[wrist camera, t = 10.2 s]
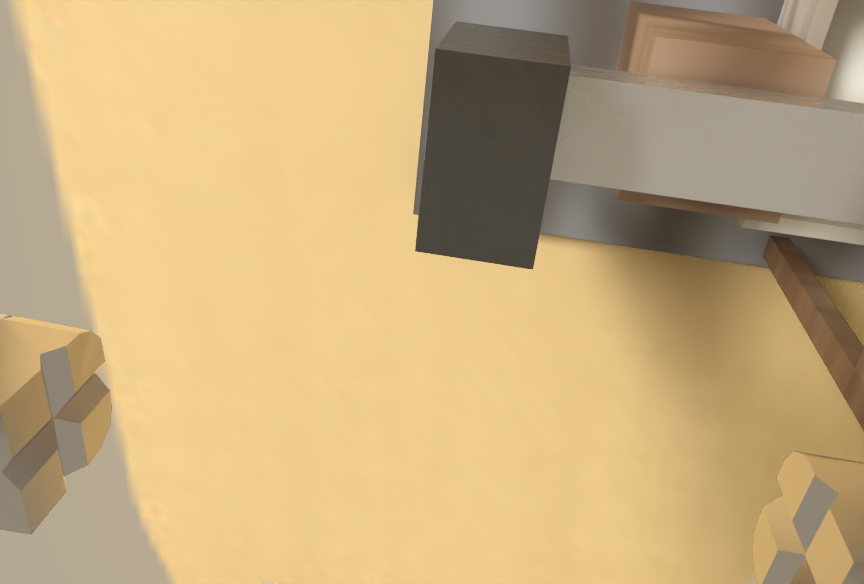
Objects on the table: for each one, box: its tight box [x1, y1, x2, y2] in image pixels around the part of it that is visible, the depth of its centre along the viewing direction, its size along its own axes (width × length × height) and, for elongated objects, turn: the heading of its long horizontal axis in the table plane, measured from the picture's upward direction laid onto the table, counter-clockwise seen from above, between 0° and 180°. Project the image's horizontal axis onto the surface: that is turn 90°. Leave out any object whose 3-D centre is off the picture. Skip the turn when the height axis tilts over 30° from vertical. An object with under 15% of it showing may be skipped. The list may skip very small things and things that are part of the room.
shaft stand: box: [413, 0, 864, 431], centre depth 23 cm, size 24×15×14 cm, turn 84°
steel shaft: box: [415, 21, 864, 269], centre depth 19 cm, size 20×5×6 cm, turn 84°
